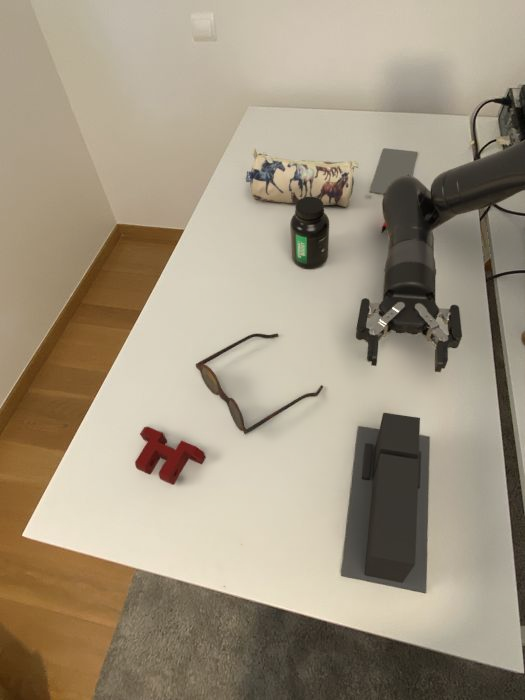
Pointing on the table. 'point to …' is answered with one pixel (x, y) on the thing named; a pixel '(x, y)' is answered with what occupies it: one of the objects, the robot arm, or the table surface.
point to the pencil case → (301, 180)
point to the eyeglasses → (234, 410)
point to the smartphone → (392, 168)
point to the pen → (384, 226)
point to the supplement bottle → (309, 233)
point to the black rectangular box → (398, 437)
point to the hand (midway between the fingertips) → (405, 365)
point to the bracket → (166, 455)
